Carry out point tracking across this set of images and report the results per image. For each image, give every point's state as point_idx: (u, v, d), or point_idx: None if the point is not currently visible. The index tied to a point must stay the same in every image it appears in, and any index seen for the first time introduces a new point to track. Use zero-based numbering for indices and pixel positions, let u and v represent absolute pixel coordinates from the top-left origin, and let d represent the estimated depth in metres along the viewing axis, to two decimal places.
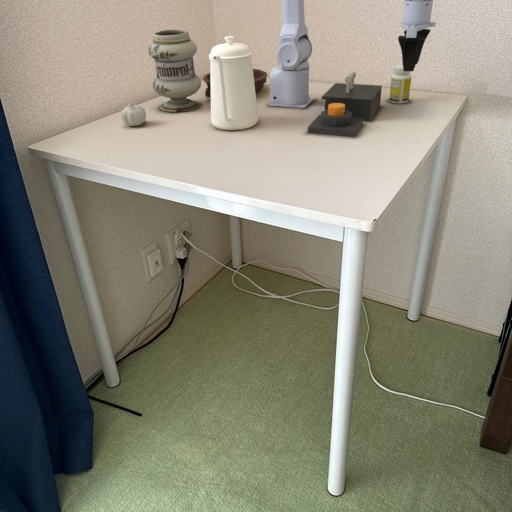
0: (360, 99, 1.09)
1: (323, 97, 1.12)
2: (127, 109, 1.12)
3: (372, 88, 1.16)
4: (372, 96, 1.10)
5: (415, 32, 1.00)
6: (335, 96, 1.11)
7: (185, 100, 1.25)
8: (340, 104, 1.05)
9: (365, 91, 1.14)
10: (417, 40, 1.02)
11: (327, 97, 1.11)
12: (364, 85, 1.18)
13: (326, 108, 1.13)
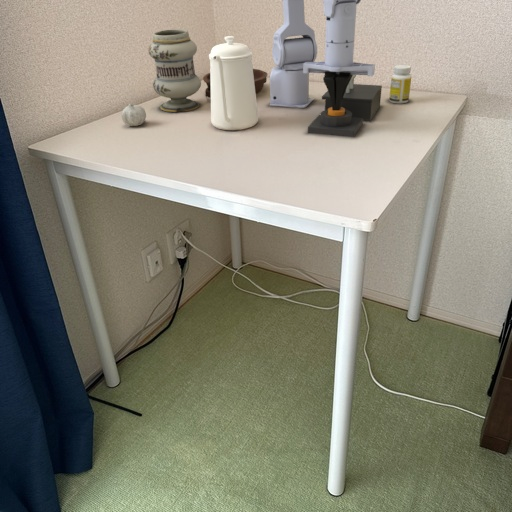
0: (360, 99, 1.09)
1: (323, 97, 1.12)
2: (127, 109, 1.12)
3: (372, 88, 1.16)
4: (372, 96, 1.10)
5: (303, 68, 1.02)
6: None
7: (185, 100, 1.25)
8: (340, 108, 1.05)
9: (365, 91, 1.14)
10: None
11: (327, 97, 1.11)
12: (364, 85, 1.18)
13: (326, 108, 1.13)
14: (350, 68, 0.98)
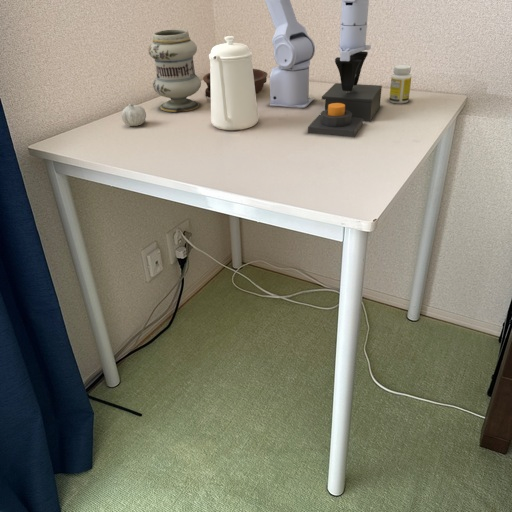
0: (360, 99, 1.09)
1: (323, 97, 1.12)
2: (127, 109, 1.12)
3: (372, 88, 1.16)
4: (372, 96, 1.10)
5: (348, 56, 1.04)
6: (335, 96, 1.11)
7: (185, 100, 1.25)
8: (340, 104, 1.05)
9: (365, 91, 1.14)
10: (352, 62, 1.07)
11: (327, 97, 1.11)
12: (364, 85, 1.18)
13: (326, 108, 1.13)
14: None
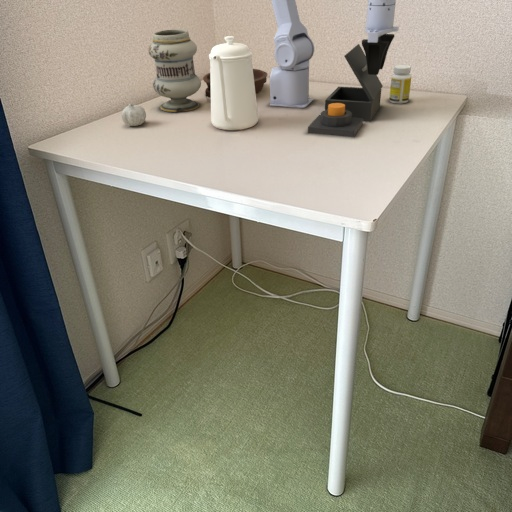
0: (366, 90, 1.07)
1: (346, 56, 1.05)
2: (127, 109, 1.12)
3: (377, 83, 1.15)
4: (374, 95, 1.10)
5: (376, 37, 1.00)
6: (354, 65, 1.06)
7: (185, 100, 1.25)
8: (340, 104, 1.05)
9: (372, 82, 1.12)
10: (380, 44, 1.03)
11: (349, 60, 1.05)
12: None
13: (326, 108, 1.13)
14: None
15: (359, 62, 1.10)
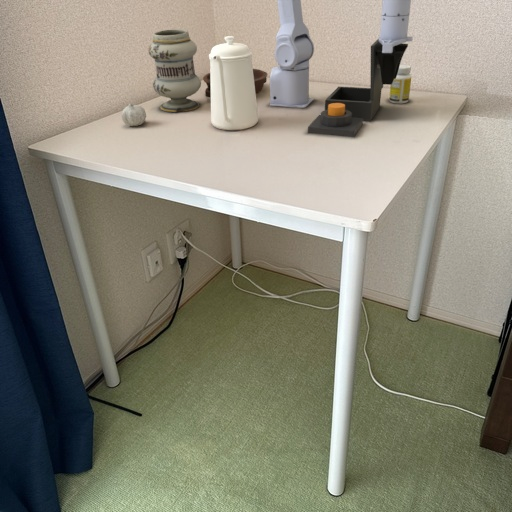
0: (372, 89, 1.07)
1: (372, 47, 1.02)
2: (127, 109, 1.12)
3: (381, 83, 1.14)
4: (375, 96, 1.10)
5: (391, 47, 1.00)
6: (374, 60, 1.04)
7: (185, 100, 1.25)
8: (340, 104, 1.05)
9: (378, 81, 1.11)
10: (394, 54, 1.03)
11: (373, 52, 1.03)
12: None
13: (326, 108, 1.13)
14: None
15: None
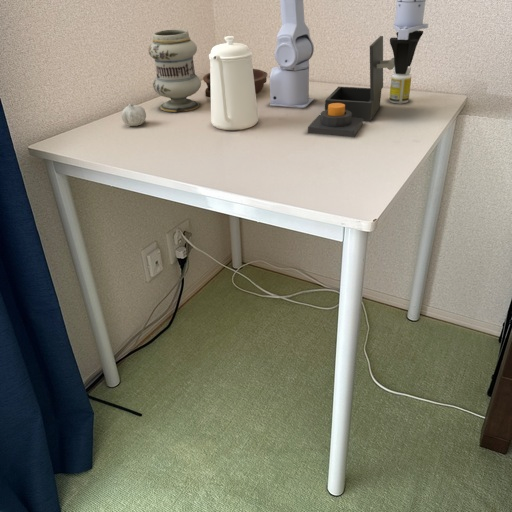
0: (372, 89, 1.07)
1: (371, 47, 1.02)
2: (127, 109, 1.12)
3: (380, 83, 1.14)
4: (375, 96, 1.10)
5: (407, 34, 0.98)
6: (373, 60, 1.04)
7: (185, 100, 1.25)
8: (340, 104, 1.05)
9: (378, 81, 1.11)
10: (409, 42, 0.99)
11: (372, 52, 1.03)
12: (382, 70, 1.15)
13: (326, 108, 1.13)
14: None
15: (377, 57, 1.08)
